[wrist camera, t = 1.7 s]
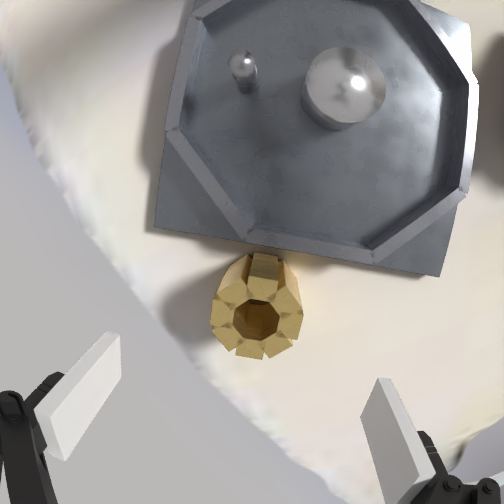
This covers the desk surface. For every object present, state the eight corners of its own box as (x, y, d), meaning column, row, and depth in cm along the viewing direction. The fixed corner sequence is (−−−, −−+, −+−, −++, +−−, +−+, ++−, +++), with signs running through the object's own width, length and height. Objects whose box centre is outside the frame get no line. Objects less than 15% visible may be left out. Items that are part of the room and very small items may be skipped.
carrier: (210, -30, 20) (195, -70, 13) (462, 29, 19) (497, 7, 13) (160, 223, 26) (127, 240, 20) (431, 272, 25) (468, 299, 19)
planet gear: (229, 247, 26) (216, 270, 20) (302, 260, 26) (310, 286, 20) (219, 313, 28) (206, 349, 22) (287, 325, 27) (290, 364, 22)
